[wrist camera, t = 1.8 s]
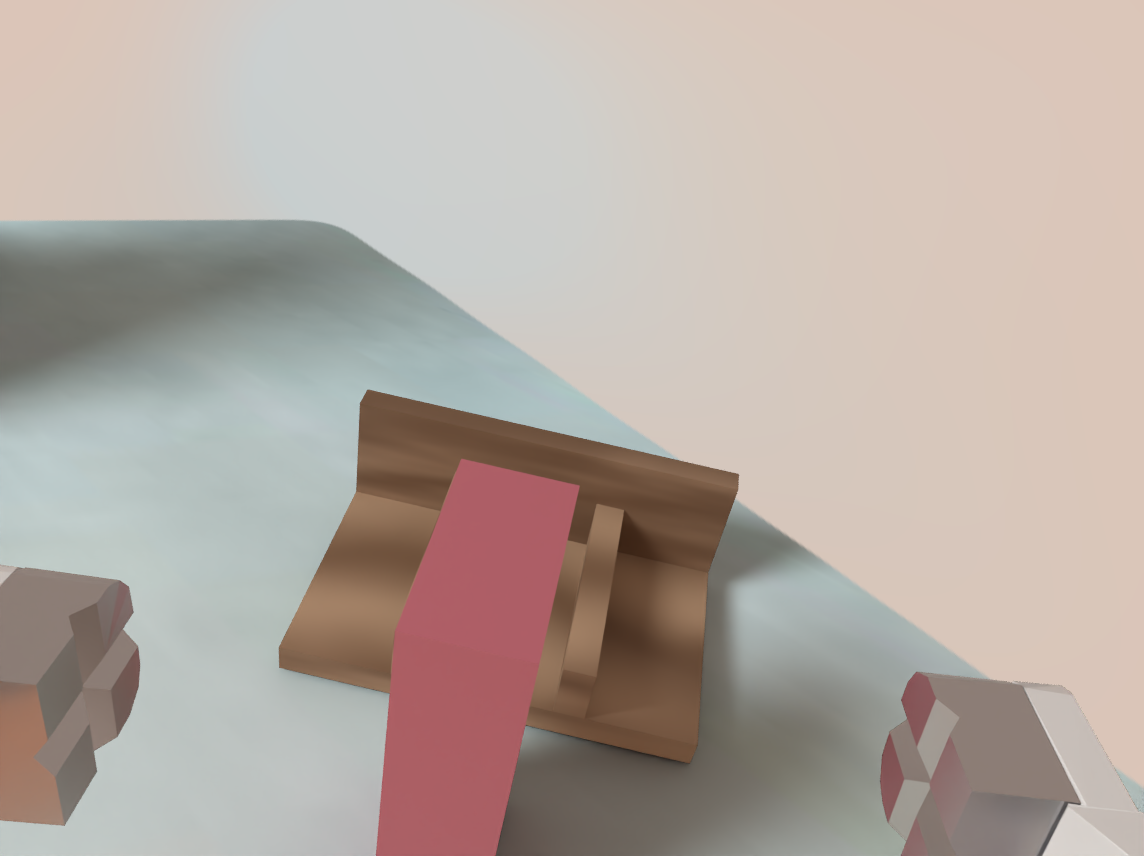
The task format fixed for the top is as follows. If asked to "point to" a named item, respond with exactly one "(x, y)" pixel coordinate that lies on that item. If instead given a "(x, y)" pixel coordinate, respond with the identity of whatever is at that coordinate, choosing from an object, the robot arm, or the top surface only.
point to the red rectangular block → (470, 661)
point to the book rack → (586, 582)
